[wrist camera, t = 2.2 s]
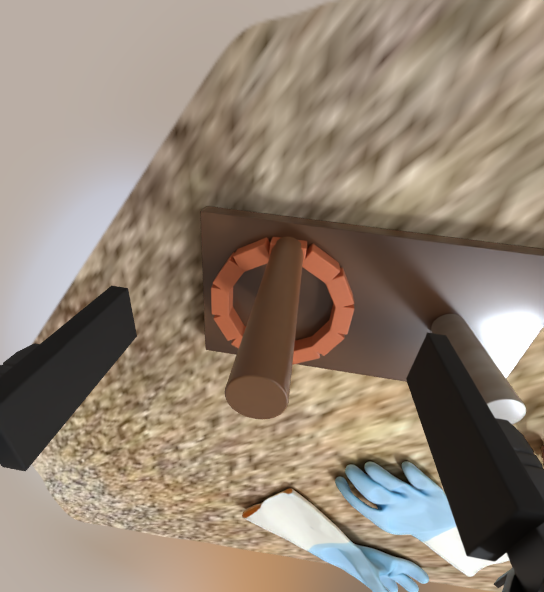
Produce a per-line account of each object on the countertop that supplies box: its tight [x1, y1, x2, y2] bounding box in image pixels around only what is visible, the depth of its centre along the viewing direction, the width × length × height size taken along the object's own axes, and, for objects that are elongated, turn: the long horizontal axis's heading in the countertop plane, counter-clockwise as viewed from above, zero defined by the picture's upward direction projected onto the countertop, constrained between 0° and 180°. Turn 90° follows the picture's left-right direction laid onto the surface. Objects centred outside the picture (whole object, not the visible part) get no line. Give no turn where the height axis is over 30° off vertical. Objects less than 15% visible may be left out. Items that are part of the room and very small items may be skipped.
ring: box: [211, 237, 355, 419], centre depth 18 cm, size 11×11×14 cm
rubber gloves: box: [242, 461, 509, 592], centre depth 41 cm, size 27×33×6 cm
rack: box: [200, 206, 544, 424], centre depth 21 cm, size 13×26×10 cm, turn 85°
